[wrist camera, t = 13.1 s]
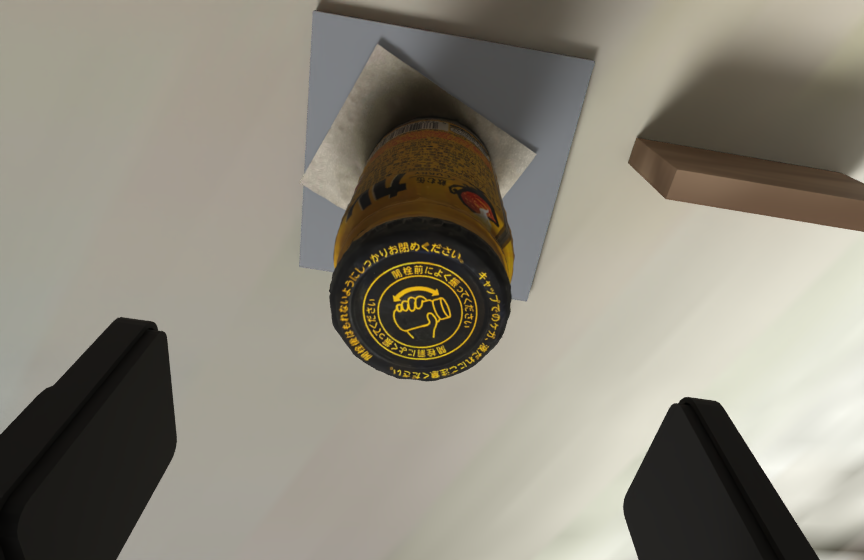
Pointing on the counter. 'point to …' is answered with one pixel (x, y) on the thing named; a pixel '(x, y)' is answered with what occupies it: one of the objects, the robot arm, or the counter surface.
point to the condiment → (417, 223)
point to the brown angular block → (750, 184)
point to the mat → (475, 87)
